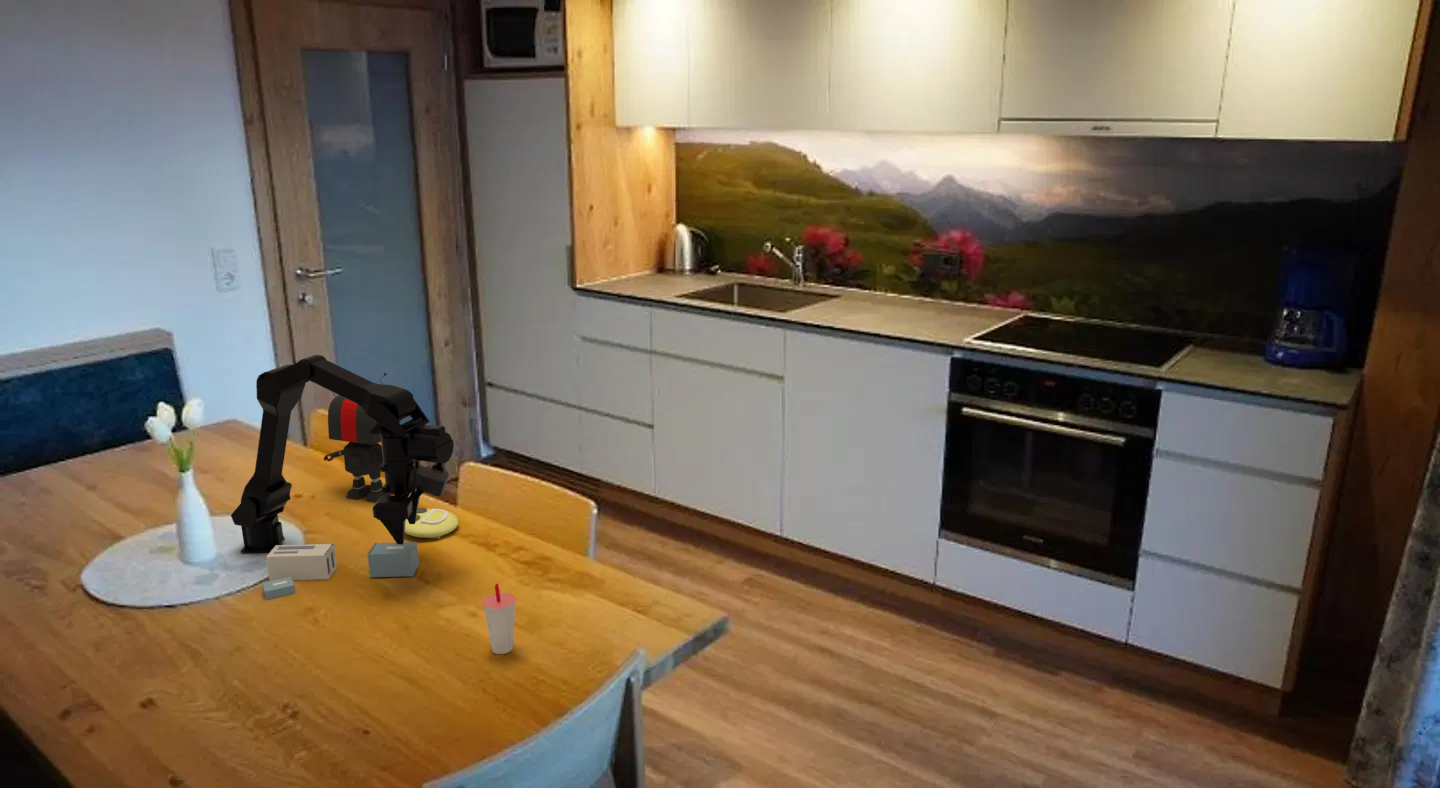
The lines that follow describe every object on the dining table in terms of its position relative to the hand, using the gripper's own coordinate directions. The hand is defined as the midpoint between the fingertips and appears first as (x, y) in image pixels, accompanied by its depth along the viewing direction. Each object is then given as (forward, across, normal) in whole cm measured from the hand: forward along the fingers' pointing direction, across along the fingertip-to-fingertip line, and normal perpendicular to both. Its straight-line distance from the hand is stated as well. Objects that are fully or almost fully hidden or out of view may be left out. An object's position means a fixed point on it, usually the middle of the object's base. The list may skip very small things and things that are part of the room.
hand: (406, 533), depth 185 cm
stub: (+8, 0, +3) cm, 8 cm away
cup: (+8, -29, -22) cm, 37 cm away
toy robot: (+8, +39, +19) cm, 44 cm away
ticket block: (+8, 0, +20) cm, 22 cm away
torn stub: (+8, -7, +22) cm, 25 cm away
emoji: (+8, +19, +1) cm, 21 cm away
